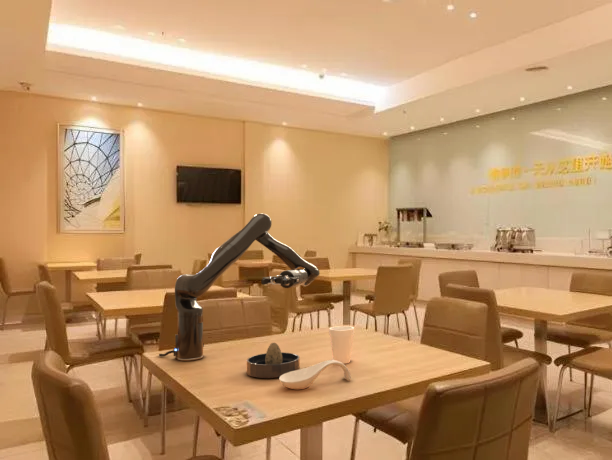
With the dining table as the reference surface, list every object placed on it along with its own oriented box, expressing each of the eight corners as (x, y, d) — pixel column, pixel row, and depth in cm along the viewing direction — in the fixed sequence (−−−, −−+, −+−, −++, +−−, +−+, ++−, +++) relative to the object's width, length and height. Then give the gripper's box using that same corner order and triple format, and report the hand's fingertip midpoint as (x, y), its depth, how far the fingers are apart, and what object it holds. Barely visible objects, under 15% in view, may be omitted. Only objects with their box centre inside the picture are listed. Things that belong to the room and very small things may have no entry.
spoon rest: (284, 394, 164) (284, 371, 164) (274, 385, 174) (274, 363, 174) (355, 383, 176) (355, 362, 176) (342, 375, 186) (342, 354, 186)
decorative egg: (281, 372, 187) (281, 344, 187) (264, 373, 186) (264, 344, 186) (283, 367, 193) (283, 340, 193) (266, 368, 192) (266, 341, 192)
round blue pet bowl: (236, 377, 183) (236, 363, 183) (263, 364, 201) (264, 351, 201) (284, 381, 179) (284, 366, 179) (308, 367, 196) (308, 354, 196)
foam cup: (324, 361, 205) (324, 328, 204) (343, 357, 211) (343, 325, 211) (340, 366, 198) (340, 331, 198) (358, 361, 205) (358, 328, 205)
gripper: (276, 269, 229) (256, 272, 214) (306, 270, 226) (288, 273, 210) (276, 286, 229) (256, 291, 214) (306, 287, 226) (288, 292, 210)
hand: (272, 282), depth 212 cm, fingers open, 8 cm apart
